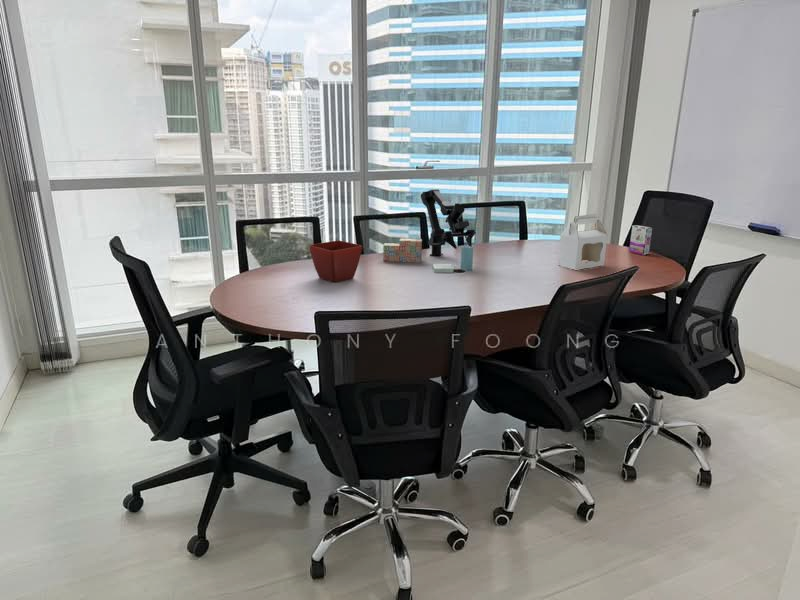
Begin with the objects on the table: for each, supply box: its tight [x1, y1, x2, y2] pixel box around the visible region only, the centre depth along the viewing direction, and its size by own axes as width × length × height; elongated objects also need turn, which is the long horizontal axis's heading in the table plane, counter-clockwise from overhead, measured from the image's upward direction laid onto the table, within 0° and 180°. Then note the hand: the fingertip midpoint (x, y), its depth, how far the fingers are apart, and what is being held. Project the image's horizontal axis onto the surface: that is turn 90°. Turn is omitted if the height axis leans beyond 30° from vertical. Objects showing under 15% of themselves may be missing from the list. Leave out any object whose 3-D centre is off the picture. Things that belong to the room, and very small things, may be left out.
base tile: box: [432, 263, 454, 273], centre depth 304 cm, size 10×10×2 cm
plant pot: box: [309, 240, 363, 283], centre depth 285 cm, size 19×19×17 cm
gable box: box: [557, 213, 608, 270], centre depth 311 cm, size 22×13×28 cm, turn 119°
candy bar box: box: [628, 224, 653, 256], centre depth 343 cm, size 11×5×16 cm, turn 28°
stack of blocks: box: [382, 238, 423, 263], centre depth 322 cm, size 21×6×12 cm, turn 84°
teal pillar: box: [460, 245, 474, 271], centre depth 305 cm, size 4×4×12 cm
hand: (463, 247), depth 307 cm, fingers open, 9 cm apart
